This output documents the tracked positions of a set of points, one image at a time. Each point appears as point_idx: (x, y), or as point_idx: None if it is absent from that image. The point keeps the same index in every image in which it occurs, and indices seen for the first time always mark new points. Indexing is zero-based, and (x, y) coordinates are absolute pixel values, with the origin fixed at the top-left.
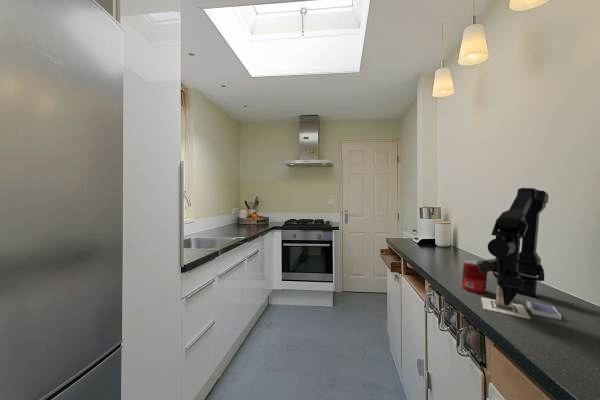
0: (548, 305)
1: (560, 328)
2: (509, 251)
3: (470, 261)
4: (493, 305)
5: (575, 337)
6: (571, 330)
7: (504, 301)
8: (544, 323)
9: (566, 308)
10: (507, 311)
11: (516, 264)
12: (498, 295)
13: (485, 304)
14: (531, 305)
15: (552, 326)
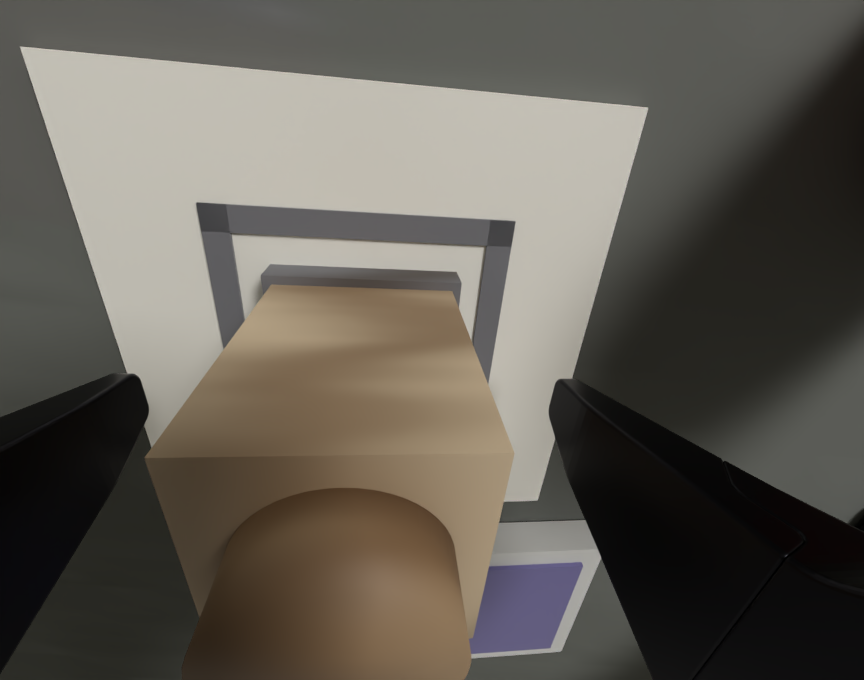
0: (565, 636)
1: (144, 618)
2: None
3: None
4: (306, 235)
5: (30, 652)
6: (167, 650)
7: (54, 405)
8: (162, 563)
9: (620, 663)
10: (201, 363)
11: None
12: (214, 363)
13: (282, 119)
14: (494, 563)
15: (139, 591)
